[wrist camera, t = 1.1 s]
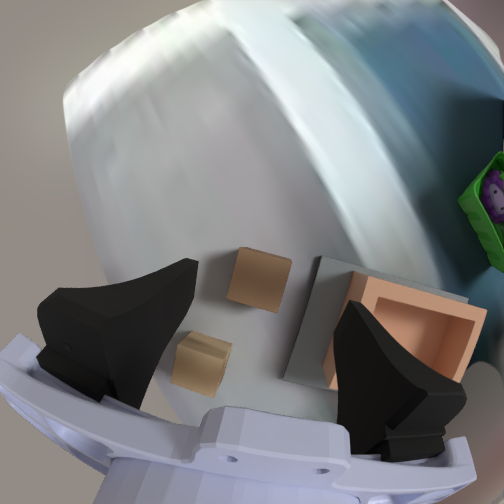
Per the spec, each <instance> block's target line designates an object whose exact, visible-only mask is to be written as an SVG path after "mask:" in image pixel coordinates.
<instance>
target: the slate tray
mask: <svg viewBox="0 0 504 504" xmlns="http://www.w3.org/2000/svg"><path fill="white" fill-rule="evenodd" d="M353 271H356V272H360V273H364V274H367V275H371V276H374V277H378V278H381V279H385V280H388V281H392V282H396V283H399V284H403V285H406V286H410V287H413V288H417V289H420V290H424V291H427V292H430V293H434V294H437V295H441V296H444V297H448V298H451V299H455V300H458V301H461V302H465V303H468V299H469V298H465V297H462V296H459V295H455V294H452V293H449V292H446V291H442V290H439V289H436V288H432V287H429V286H425V285H422V284H419V283H415V282H412V281H409V280H405V279H402V278H398V277H395V276H391V275H388V274H384V273H381V272H378V271H374V270H371V269H367V268H364V267H360V266H356V265H353V264H349V263H346V262H342V261H339V260H335V259H332V258H328V257H324V256H321V259H320V262H319V266H318V269H317V273H316V277H315V280H314V283H313V287H312V290H311V294H310V297H309V300H308V304H307V307H306V310H305V313H304V316H303V320H302V323H301V326H300V329H299V332H298V335H297V338H296V341H295V344H294V347H293V350H292V353H291V356H290V359H289V362H288V364H287V367H286V370H285V373H284V376H283V380H284V381H289V382H293V383H297V384H302V385H306V386H311V387H316V388H321V389H326V390H332V391H337V392H338V390H336V389H331V388H329V387H328V383H327V380H326V377H325V373H324V370H323V367H322V363H323V360H324V358H325V355H326V352H327V350H328V347H329V344H330V341H331V339H332V336H333V332H334V330H335V327H336V324H337V321H338V318H339V315H340V312H341V309H342V306H343V303H344V300H345V296H346V293H347V290H348V286H349V283H350V279H351V276H352V272H353Z"/></svg>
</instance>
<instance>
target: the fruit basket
mask: <svg viewBox="0 0 504 504" xmlns="http://www.w3.org/2000/svg"><path fill="white" fill-rule="evenodd" d="M457 201H458V203H459V205H460V206H461V208H462V210H463V211H464V212H465V213H466V214H467V217H468V220H469V222H470V224H471V225H472V227H473V229H474V231H475V232H476V233H477V234H478V239H479V241H480V243H481V245H482V247H483V248H484V250H485V251H486V252H487V257H488V259H489V261H490V264H491V265H492V266H493V267H494V268H496V269H498V270H499V271H501V272H503V273H504V153H503V152H501V151H499V152H498V153H497V154H496V155H495V156H494V157H493V159H492V160H491V162H490V163H489V164H488V165H487V166H486V167H485V168H484V169H483V170H482V171H481V172H480V173H479V174H478V175H477V176H476V178H475V180H474V181H472V182H471V184H470V185H469V186H468V187H467V188H466V190H465V191H464V193H463V194H462V195H461V196H460V197H459V198H458V200H457Z"/></svg>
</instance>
